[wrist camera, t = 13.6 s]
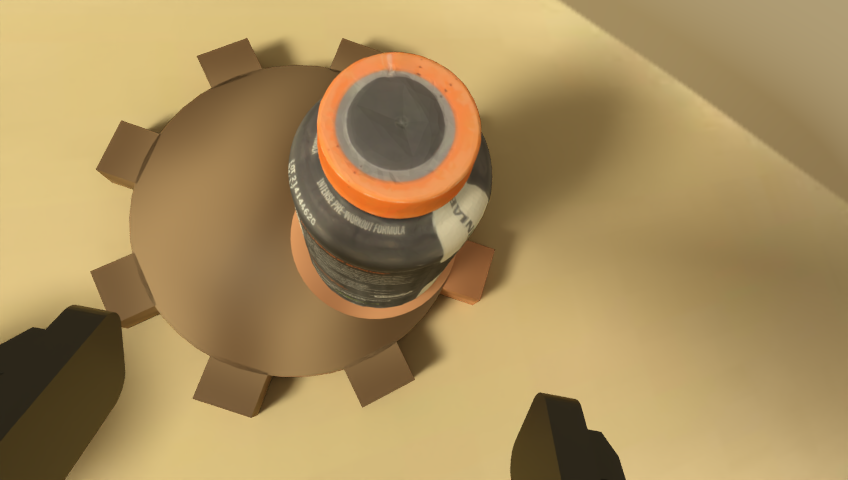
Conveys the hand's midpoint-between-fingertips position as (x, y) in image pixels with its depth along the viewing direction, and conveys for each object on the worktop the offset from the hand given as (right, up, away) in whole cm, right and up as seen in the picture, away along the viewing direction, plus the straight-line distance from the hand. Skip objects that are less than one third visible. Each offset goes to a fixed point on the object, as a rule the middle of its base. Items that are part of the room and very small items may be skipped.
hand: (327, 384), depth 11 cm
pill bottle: (0, +3, +13) cm, 14 cm away
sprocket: (-4, +4, +15) cm, 16 cm away
